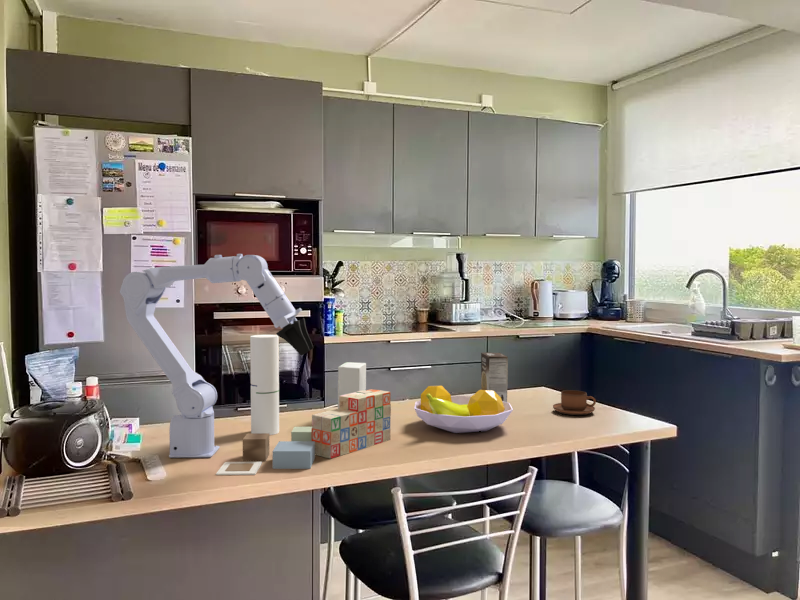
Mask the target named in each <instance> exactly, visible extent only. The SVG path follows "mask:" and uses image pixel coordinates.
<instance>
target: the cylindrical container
mask: <svg viewBox="0 0 800 600" xmlns="http://www.w3.org/2000/svg"><path fill="white" fill-rule="evenodd" d="M279 338H280V337H279V336H278V335H277V334H254V335H250V338H249V341H250V342H249V344H250V350H249V352H250V353H249V354H250V433H269V436H273V435H277V434H279V433H280V376H279V375H280V361H279V360H280V358H279V356H280V355H279V354H280V352H279V351H280V350H279V347H280V344H279Z"/></svg>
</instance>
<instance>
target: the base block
mask: <svg viewBox="0 0 800 600" xmlns="http://www.w3.org/2000/svg"><path fill="white" fill-rule="evenodd" d="M315 459H316V455H315V441H290V440H289V441H287V440H286V441H284V440H283V441H281V440H280V441H278V443H277V444H276V445H275V447H274V448H273V450H272V469H273V470H274V469H275V470H277V469H278V470H282V469H283V470H284V469H287V470H294V469H298V470H301V469H302V470H303V469H307V470H310V469H311V468H312V465H313V463H314V462H315Z"/></svg>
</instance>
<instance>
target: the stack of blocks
mask: <svg viewBox="0 0 800 600" xmlns="http://www.w3.org/2000/svg"><path fill="white" fill-rule="evenodd" d="M391 396H392V395H391V391H387V390H381V389H374V388H373V389H372V388H371V389H366V390H362V391H357V392H354V393H350V394H346V395H341V396H339V409H338V408H335V409H331V410H327V411H323V412H318V413H315V414H312V415H311V427H312V430H311V440H312V441H315V456H318V457H322V458H326V459H329V460H330V459H334V458H338V457H341V456H344V455H347V454H350V453H353V452H357V451H359V450H362V449H366V448H370V447H372V446H375V445H378V444H382V443H385V442H387V441H390V440H391V430H392V429H391V415H392V414H391V413H392V409H391V408H392V406H391Z"/></svg>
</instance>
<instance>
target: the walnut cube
mask: <svg viewBox="0 0 800 600" xmlns="http://www.w3.org/2000/svg"><path fill="white" fill-rule="evenodd" d="M269 456H270V435H269V433H251V432H250V433H246V434H245V436H243V438H242V462H267V460H268V458H269Z"/></svg>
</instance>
